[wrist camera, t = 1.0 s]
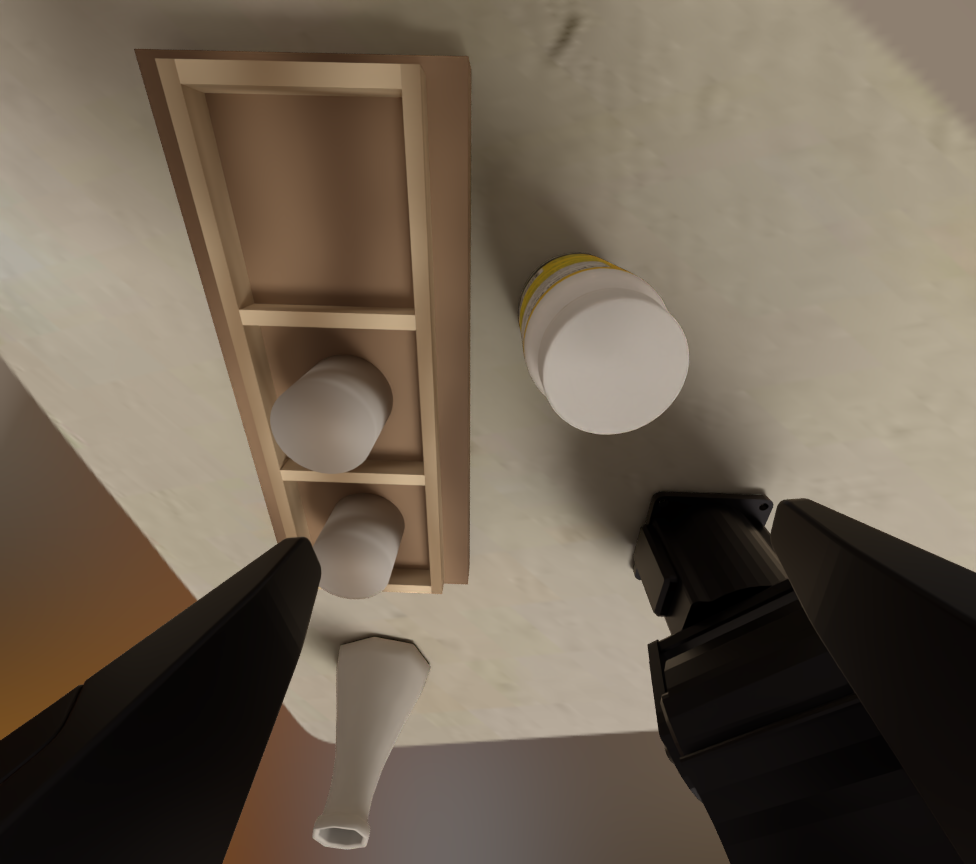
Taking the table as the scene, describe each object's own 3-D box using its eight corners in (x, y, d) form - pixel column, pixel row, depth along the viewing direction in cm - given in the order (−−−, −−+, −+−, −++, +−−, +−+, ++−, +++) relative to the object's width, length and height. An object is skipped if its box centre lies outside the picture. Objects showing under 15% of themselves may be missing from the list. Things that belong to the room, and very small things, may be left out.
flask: (326, 634, 30) (255, 809, 21) (424, 632, 30) (393, 809, 21) (348, 692, 34) (294, 863, 25) (436, 691, 33) (414, 864, 25)
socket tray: (471, 69, 15) (458, 12, 10) (469, 565, 26) (462, 636, 22) (166, 63, 15) (27, 3, 11) (298, 558, 27) (257, 628, 22)
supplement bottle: (632, 340, 19) (714, 423, 12) (535, 371, 20) (554, 467, 13) (611, 232, 17) (693, 253, 10) (503, 273, 18) (504, 320, 11)
